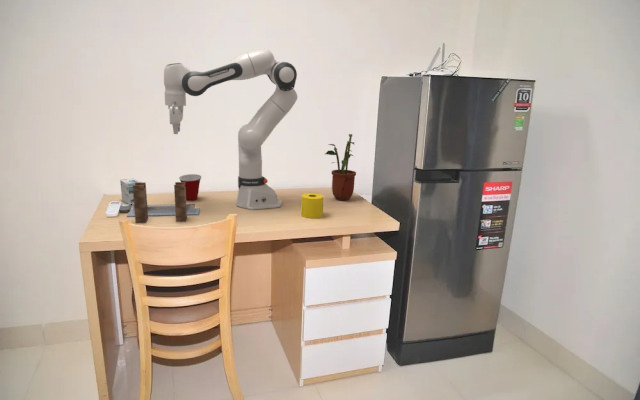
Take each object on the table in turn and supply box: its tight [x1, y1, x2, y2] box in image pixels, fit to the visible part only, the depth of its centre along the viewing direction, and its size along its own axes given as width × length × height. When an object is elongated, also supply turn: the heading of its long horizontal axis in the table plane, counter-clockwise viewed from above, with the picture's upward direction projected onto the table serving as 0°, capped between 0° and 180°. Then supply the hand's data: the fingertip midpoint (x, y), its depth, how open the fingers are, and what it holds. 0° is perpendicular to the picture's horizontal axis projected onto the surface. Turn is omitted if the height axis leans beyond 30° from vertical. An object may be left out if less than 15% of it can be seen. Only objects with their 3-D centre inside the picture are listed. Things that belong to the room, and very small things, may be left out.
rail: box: [132, 203, 196, 214], centre depth 188 cm, size 26×3×3 cm, turn 103°
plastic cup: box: [178, 173, 202, 202], centre depth 210 cm, size 11×11×12 cm
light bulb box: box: [119, 177, 141, 206], centre depth 201 cm, size 11×7×11 cm, turn 44°
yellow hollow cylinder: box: [300, 192, 324, 220], centre depth 194 cm, size 10×10×9 cm
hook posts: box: [133, 181, 188, 224], centre depth 177 cm, size 20×6×16 cm, turn 103°
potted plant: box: [324, 133, 357, 201], centre depth 219 cm, size 17×16×35 cm
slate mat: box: [126, 207, 201, 218], centre depth 189 cm, size 30×9×1 cm, turn 103°
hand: (176, 132), depth 189 cm, fingers open, 8 cm apart
